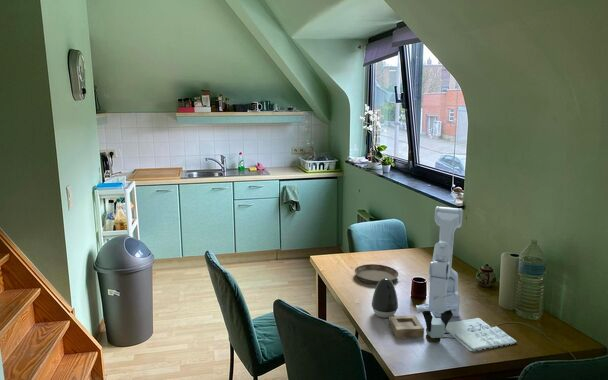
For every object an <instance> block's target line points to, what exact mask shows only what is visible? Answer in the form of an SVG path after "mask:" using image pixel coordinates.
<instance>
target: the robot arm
mask: <svg viewBox="0 0 608 380" xmlns="http://www.w3.org/2000/svg"><path fill="white" fill-rule="evenodd" d="M463 214H464V210H463V208H461V207H460V208H457V207H449V206H447V207H446V206H438V205H437V206H436V207H435V209H434V216H433V217H434V222H435V224H436V226H438V227H439V232H438V233H439V235H438V236H439V237H438V242H436V243H435V244H434V247H433V248H434V249H433V255H432V260H431V261H430V263H429V268H428V275H429V278H428V279H429V296H428V303H424V304H419V305H415V312H416V313H417V314H421V313H422V316H423V318H424V322H425V327H426V331H427V330H428V332H431V322H432V318H434V317H433V315H432V313H433V314H434V315H435V318H441V320H442V321H443V322H444V324H445V329H446V326H447V324H448V322H449V321H450V320H451V319H452V318H453V317H460V315H461V314H460V304H461V298H460V294H459V291H458V287H459V285H458V284H459V274H458V272H457V271H455V270H454V269H453V268H452V264H453V262H452V261H453V253H454V252H453V249H454V241H455V240H454V239H455V238H454V237H455V231H456V229H459V228H461V227H462V225H463V224H462V223H463V216H464V215H463ZM431 312H432V313H431ZM428 332H427V333H428Z"/></svg>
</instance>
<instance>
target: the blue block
mask: <svg viewBox="0 0 608 380" xmlns="http://www.w3.org/2000/svg"><path fill="white" fill-rule="evenodd" d="M445 331H446V330H445V324H444V322H443V321H442V320H441V317H433V318H432V322H431V332H428V330H427V329H426V332H427V334H428V335H429V337H430V339H437V338H438V339H441V338H442V339H443V338H445Z"/></svg>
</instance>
